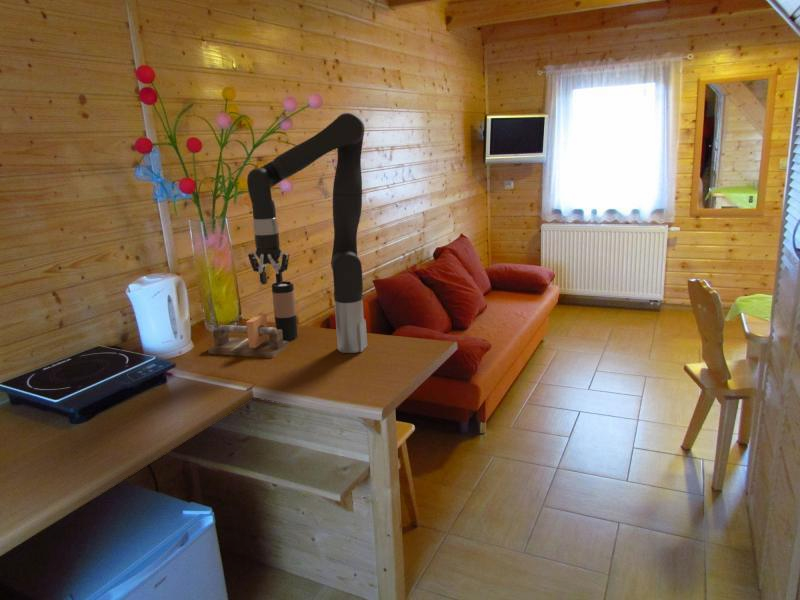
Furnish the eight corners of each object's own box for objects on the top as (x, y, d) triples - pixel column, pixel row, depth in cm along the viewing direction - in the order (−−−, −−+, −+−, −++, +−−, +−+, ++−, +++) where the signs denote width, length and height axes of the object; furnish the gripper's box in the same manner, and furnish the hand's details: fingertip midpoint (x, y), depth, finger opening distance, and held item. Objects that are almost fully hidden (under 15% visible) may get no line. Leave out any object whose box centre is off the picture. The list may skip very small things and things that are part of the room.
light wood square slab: (268, 338, 195) (266, 313, 193) (255, 347, 187) (252, 321, 184) (262, 338, 196) (259, 313, 193) (249, 347, 187) (246, 321, 185)
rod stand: (289, 345, 195) (287, 322, 193) (273, 357, 184) (270, 333, 182) (228, 341, 202) (225, 319, 199) (208, 353, 190) (205, 330, 188)
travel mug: (273, 341, 200) (267, 286, 194) (281, 334, 207) (276, 281, 202) (294, 341, 199) (288, 286, 193) (301, 334, 206) (296, 281, 200)
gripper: (292, 230, 181) (296, 282, 185) (252, 230, 185) (257, 281, 189) (281, 234, 174) (286, 287, 178) (240, 234, 178) (246, 286, 182)
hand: (271, 283), depth 184 cm, fingers open, 4 cm apart
